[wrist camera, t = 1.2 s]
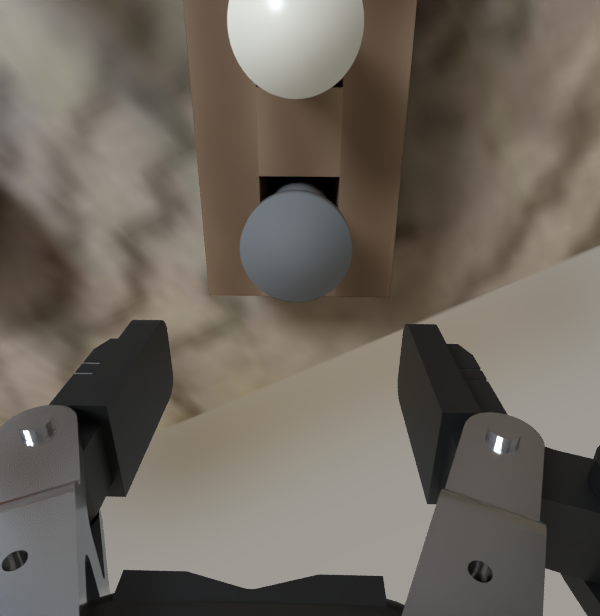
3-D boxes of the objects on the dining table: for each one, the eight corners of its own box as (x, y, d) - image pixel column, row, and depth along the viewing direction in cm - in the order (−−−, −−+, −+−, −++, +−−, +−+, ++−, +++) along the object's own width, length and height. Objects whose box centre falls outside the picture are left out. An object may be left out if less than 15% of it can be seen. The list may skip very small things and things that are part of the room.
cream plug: (351, -20, 21) (368, -61, 15) (347, 93, 23) (360, 99, 17) (248, -19, 21) (222, -60, 15) (253, 93, 23) (231, 99, 17)
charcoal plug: (344, 165, 25) (355, 195, 18) (340, 250, 27) (349, 302, 20) (255, 165, 25) (236, 194, 18) (259, 249, 27) (242, 301, 20)
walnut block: (417, -281, 21) (454, -407, 15) (376, 259, 32) (389, 297, 26) (190, -277, 21) (147, -401, 16) (226, 258, 32) (209, 295, 26)
